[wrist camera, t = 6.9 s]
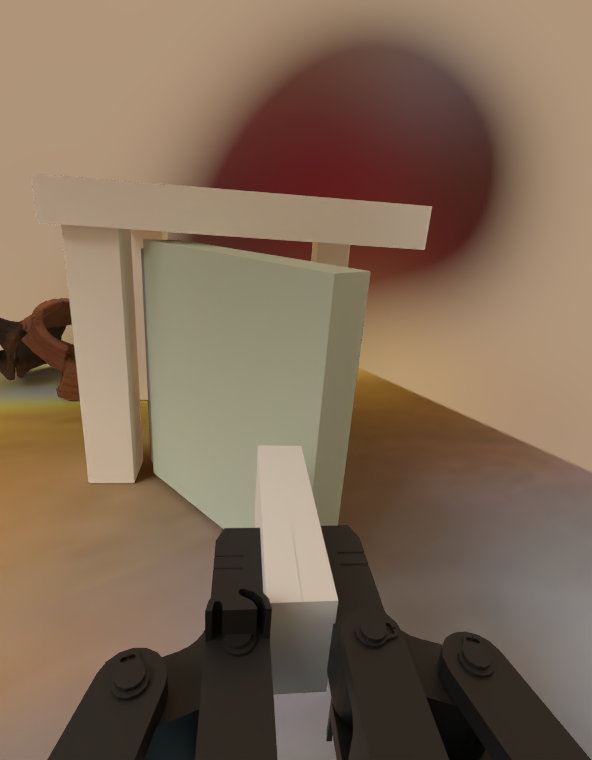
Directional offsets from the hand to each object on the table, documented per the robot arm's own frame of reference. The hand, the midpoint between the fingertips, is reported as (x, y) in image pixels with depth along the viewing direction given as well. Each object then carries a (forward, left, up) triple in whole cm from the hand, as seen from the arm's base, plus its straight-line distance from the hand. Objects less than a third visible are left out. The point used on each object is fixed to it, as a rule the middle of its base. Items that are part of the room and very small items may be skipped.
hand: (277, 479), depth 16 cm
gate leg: (-2, +7, -6) cm, 9 cm away
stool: (-1, +17, -6) cm, 18 cm away
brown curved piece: (-17, +25, -7) cm, 31 cm away
